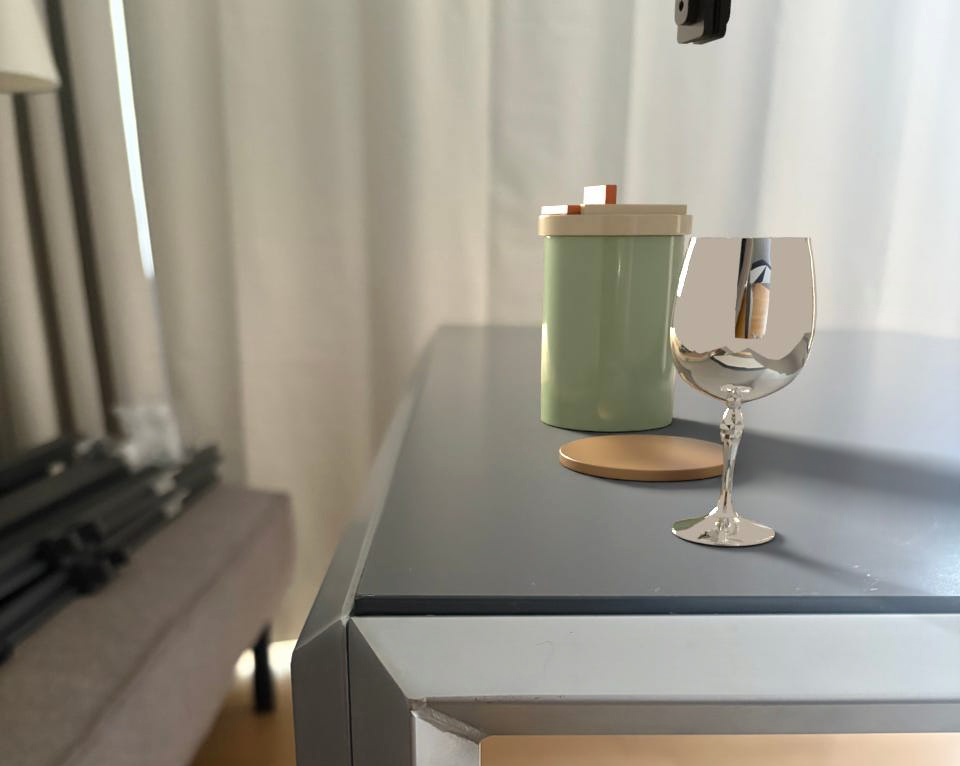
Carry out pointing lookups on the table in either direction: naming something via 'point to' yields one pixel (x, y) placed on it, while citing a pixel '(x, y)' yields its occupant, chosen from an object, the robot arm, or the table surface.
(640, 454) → the coaster
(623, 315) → the green storage canister
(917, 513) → the table surface
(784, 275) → the wineglass
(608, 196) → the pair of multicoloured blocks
